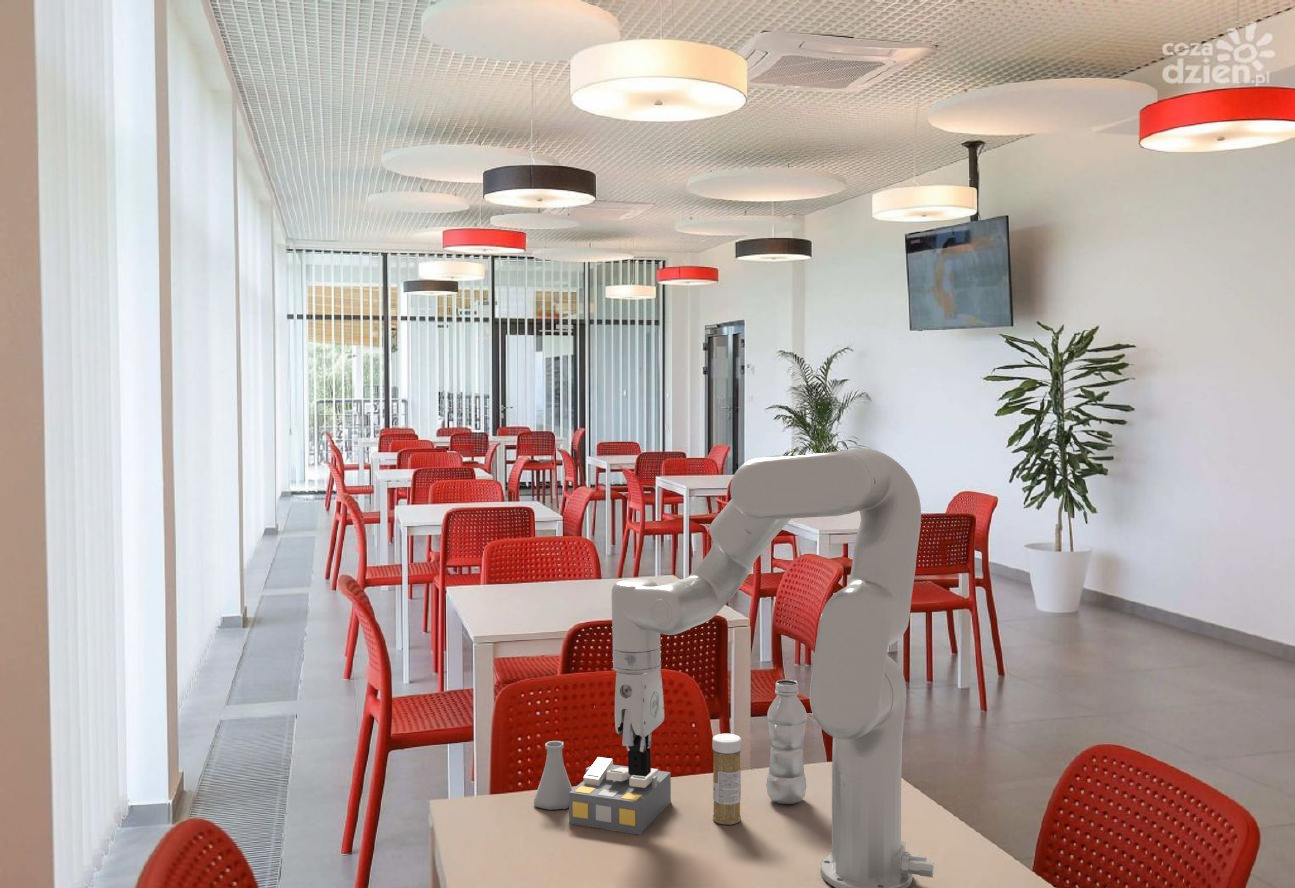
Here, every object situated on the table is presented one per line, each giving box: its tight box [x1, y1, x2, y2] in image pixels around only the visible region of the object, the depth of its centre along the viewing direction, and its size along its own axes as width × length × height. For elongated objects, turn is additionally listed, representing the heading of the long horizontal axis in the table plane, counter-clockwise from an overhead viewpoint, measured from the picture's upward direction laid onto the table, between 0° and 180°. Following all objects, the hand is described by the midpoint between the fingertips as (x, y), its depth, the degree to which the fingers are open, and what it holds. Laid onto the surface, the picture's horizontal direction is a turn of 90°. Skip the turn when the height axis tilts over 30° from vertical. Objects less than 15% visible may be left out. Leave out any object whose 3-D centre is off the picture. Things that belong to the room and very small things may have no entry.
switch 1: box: [583, 756, 614, 786], centre depth 171 cm, size 3×6×1 cm, turn 159°
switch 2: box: [606, 767, 630, 781], centre depth 170 cm, size 3×6×1 cm, turn 159°
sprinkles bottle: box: [712, 732, 742, 825], centre depth 166 cm, size 5×5×14 cm
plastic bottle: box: [766, 679, 808, 805], centre depth 174 cm, size 6×7×20 cm
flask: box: [533, 740, 574, 810], centre depth 174 cm, size 7×7×10 cm
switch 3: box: [629, 767, 659, 788], centre depth 168 cm, size 3×6×1 cm, turn 159°
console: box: [568, 764, 672, 836], centre depth 170 cm, size 12×14×7 cm
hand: (639, 773), depth 165 cm, fingers closed
